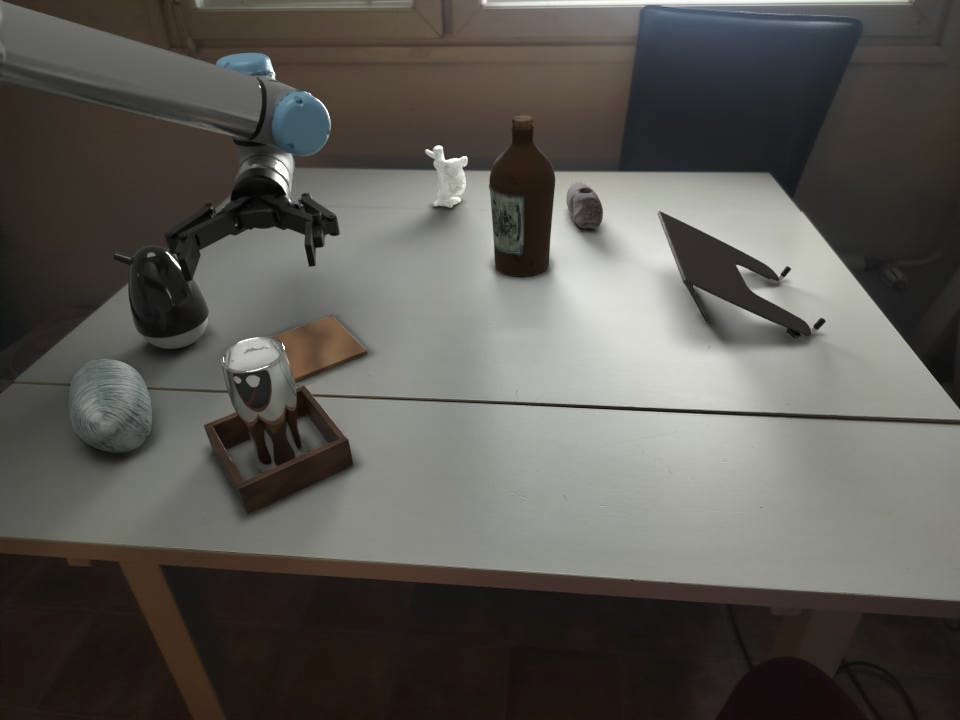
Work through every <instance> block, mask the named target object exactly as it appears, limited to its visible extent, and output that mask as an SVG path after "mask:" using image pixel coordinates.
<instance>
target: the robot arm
mask: <svg viewBox="0 0 960 720" xmlns="http://www.w3.org/2000/svg"><path fill="white" fill-rule="evenodd" d="M0 85H2V86H7V87H11V88H16V89H21V90H26V91H29V92H33V93H37V94H38V93H39V94H42V95H48V96H52V97H57V98H60V99H64V100H65V99H66V100H69V101H75V102H78V103H83V104H88V105H92V106H96V107H101V108H105V109H110V110H115V111H118V112H122V113H128V114H132V115H136V116H141V117H145V118H150V119H154V120H159V121H164V122H168V123H173V124H176V125H181V126H186V127H190V128H194V129H199V130H203V131H207V132H208V131H209V132H213V133H217V134H221V135H226V136H230V137H232V143H233V146H234V151H235V155H236V159H237V162H238V170H237V173H236V177H235V179H234V183H233V186H232V190H231V193H230V198H229V202H228V203H227V204H226V205H224V207H217V208H215V207H214V205H213V203H212V202H206V203H203V204H202V205H201V207H200V208H199V210H197V211H196V212H194V213H193V214H191V215H189V217H187V218H185V219H184V220H182V221H181V222H179V223H178V224H176V225H175V226H173V227H172V228H170V229H169V230H167V231H166V232H164V233H163V237H164V240H165V243H166V245H167V250H168V251H169V252H170V254H173V255H175V256H176V257H177V258H178V262H179V265H180V268H181V271H182V274H183V277H184V280H185V281H192V280H193V279H194V276H195V274H196V270H197V267H198V264H199V261H200V258H201V256H202V254H201V252H200V251H201V250H203V249H205V248H207V247H209V246H212V245H213V244H215V243H217V242H218V241H220V240H222V239H224V238H226V237H228V236H238V235H240V234H242V233H244V232H245V231H247V230H250V231H251V230H253V229H260V230H266V229H271V228H276V229H279V230H282V231H285V230H290V231H293V232H295V233H298V234H301V235H303V236H304V250H305V255H306V260H307V265H308V267H310V268H312V267H316V263H317V260H316V259H317V249H321V248H324V247H325V245H326V236H327V235H329V236H330V237H337V236H340V235H341V232H340V226H339V219H338V215H337V213H335V212H333V211H331V210H330V209H329V208H328V207H325V206H324V205H323V204H321V203H319V202H318V201H316V200H314V198H313V197H312V195H311V193H309V192H304V193H302V194H301V195H300V196H301V197H298V198H297V200H291V195H292V188H293V187H292V185H293V177H294V175H295V169H296V166H295V165H296V164H295V158H294V156H297V157H309V156H312V155H315V154H317V153H318V152H319V151H321V150H322V149H323V147H325V145H326V143H327V142H328V140H329V138H330V134H331V130H332V129H331V128H332V123H331V121H332V120H331V117H330V114H329V112H328V109H327V108H326V106H325V105H324V104H323V102H322V101H320V100H319V99H318V98H317V97H315V96H313V95H312V94H311V93H310V92H308V91H305V90H301V89H297V88H295V87H292V86H290V85H288V84H285V83H284V82H282V81H279V80H277V79H276V72H275V70H274V68H273V64H272V61H271V58H270V57H269V56H268V55H267V54H264V53H261V52H242V53H234V54H229V55H225V56H223V57H221V58H219V59H218V60H216V63H215V64H214V63H211V62H207V61H204V60H202V59H201V60H200V59H197V58H194V57H191V56H187V55H184V54H181V53H178V52H173V51H171V50H167V49H164V48H160V47H157V46H154V45H150V44H147V43H143V42H141V41H137V40H134V39H130V38H127V37H124V36H120V35H118V34H113V33H110V32H107V31H104V30H100V29H97V28H94V27H90V26H87V25H83V24H80V23H78V22H73V21H69V20H67V19H63V18H60V17H57V16H53V15H50V14H47V13H44V12H40V11H36V10H34V9H30V8H26V7H24V6H20V5H17V4H13V3H10V2H8V1H3V0H0Z"/></svg>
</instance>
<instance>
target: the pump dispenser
mask: <svg viewBox="0 0 960 720" xmlns="http://www.w3.org/2000/svg"><path fill="white" fill-rule="evenodd" d="M112 259H113V260H114V261H116V262H119V263H122V264H124V265H127V266H129V270H128V280H127V291H128V292H127V293H128V303H129V308H130V314H131V317H132V321H133V324H134V327H135V330H136V331H137V332H138V334H140V335H142V337H143V338H144V339H145V340H146V342H148V343H149V344H150V345H152V346H155V347H157V348H160V349H165V350H177V349H181V348H185V347H187V346H189V345H190V346H191V345H192V344H193V343H196V342H197V341H198V340H199V339H200V338H202V336H203V334H205V331H206V329H207V326H208V319H209V318H208V317H209V314H210V309H209V306H208V303H207V301H206V299H205V297H204V294H203V292H202V291H201V288H200V287H199V285H198V283H197V281H196V280H195V279H194V278H193V280H192V281H185V280H184V277H183V274H182V271H181V268H180V265H179V262H178V258H177V255H176V254H170V252H169V249H168V248H166V247H164V246H161V245H155V244H149V245H145V246H142V247H141V248H138V250H136V252H134V255H128V254H125V253H121V252H117V251H115V252H114V253H113V254H112Z"/></svg>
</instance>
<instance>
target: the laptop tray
mask: <svg viewBox="0 0 960 720" xmlns="http://www.w3.org/2000/svg"><path fill="white" fill-rule="evenodd" d="M657 216H658V220H659V222H660V225H661V228H662V230H663V232H664V235H665V238H666V240H667V243H668V245H669V248H670V250H671V254H672V257H673V259H674V261H675V265H676V268H677V269H678V272H679V275H680V278H681V280H682V284H683V285H684V286H685V287H686V289H687V290H688V292H689V294H690V296H691V298H692V299H693V301H694V302H695V305H696V307H697V308H698V310H699V312H700V314H701V316H702V317H703V320H704V322H705V323H706V322H708V319H707V317H706V315H705V313H704V310H703V308H702V307H701V304H700V301H699V300H698V297H697V293H696V289H695V287H696V288H698V289H699V290H702V291H704V292H707V293H708V294H710V295H712V296H714V297H717V298H718V299H720V300H723V301H725V302H727V303H730V304H731V305H734V306H736V307H738V308H741V309H743V310H745V311H747V312H749V313H751V314H753V315H754V316H755V315H756V316H758V317H759V318H762V319H764V320H767V321H769V322H772V323H773V324H776V325H778V326H781V327H783V328H785V333H786V334H787V335H788V336H789V337H791V338H792V339H793V340H795V339H796V340H798V339H800V338H801V337H802V335H803V336H805V337H810V336H811V335H814V334H815V333H817V331H819V330H820V329H821V328H822V326H824V324H825V323H827V322H826V321H827V320H826V319H825V318H823V317H819V319H818V320H816V322H814V324H813V326H809V324H808V323H807V322H806V321H805V320H804V319H802V318H801V317H800V316H798V315H796V314H795V313H794V314H793V313H792V312H790V311H788V310H786V309H784V308H783V307H781V306H779V305H778V304H775V303H773V302H771V301H769V300H768V299H766V298H764V297H762V296H760V295H758V294H757V293H755V292H754V291H752V290H751V289H750V287H749V286H748V285H747V283H746V282H745V279H744V278H743V275H742V274H741V272H740V270H739V268H738V266H739V267H742V268H744V269H746V270H749V271H750V272H752V273H755V274H757V275H759V276H760V277H763V278H765V279H767V280H769V281H772V282H775V283H777V282H781V281H783V280H784V279H785V278H786V277H787V275H788V274H789V273H790V272H791V271H792V268H791V267H790V266H789V265H787V266H785V267H784V268H783V270H782V271H781V272H780V274H779V275H778V274H777V273H776V272H775V271H774V269H772V268H771V267H770V266H768V265H767V264H766V263H764V262H762V261H761V260H759V259H757V258H755V257H753V256H751V255H750V254H748V253H745V252H744V251H742V250H740V249H737V248H736V247H734V246H732V245H730V244H728V243H726V242H724V241H722V240H720V239H718V238H717V237H714V236H712V235H710V234H708V233H706V232H704V231H702V230H700V229H698V228H697V227H694V226H692V225H691V224H688V223H686V222H684V221H682V220H680V219H677V218H676V217H673V216H671V215H669V214H667V213H665V212H663V211H661V210H659V211H658V212H657Z"/></svg>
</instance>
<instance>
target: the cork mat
mask: <svg viewBox="0 0 960 720" xmlns="http://www.w3.org/2000/svg"><path fill="white" fill-rule="evenodd" d="M271 337H272V338H275V339H277V340H279V341H281V342H282V344H283V345H284V348H285V352H286V355H287V357H288V360H289V363H290V366H291V369H292V373H293V376H294V381H295V383H297V382H299V381H301V380H304V379H307V378H310V377H313V376H314V375H316V374H319V373H322V372H325V371H327V370H330V369H332V368H334V367H337V366H339V365H342V364H345V363H347V362H348V363H349V362H350V361H353V360H355V359H358V358H361V357H363V356H365V355H368V350H367V348H365V347H364V345H362V344H361V343H360V342H359V341H358V339H356V338H355V337H354V336H353V335H352V334H351V333H350V332H349V331H348V330H347V329H346V328H345V327H344V326H343V325H342V324H341V323H340V322H339V321H338V320H337V319H336V318H335V317H334V316H333V315H330V316H327V317H323V318H321V319H318V320H315V321H312V322H310V323H307V324H304V325H302V326H299V327H295V328H293V329H290V330H287V331H284V332H282V333H279V334H276V335H272V336H271Z"/></svg>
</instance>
